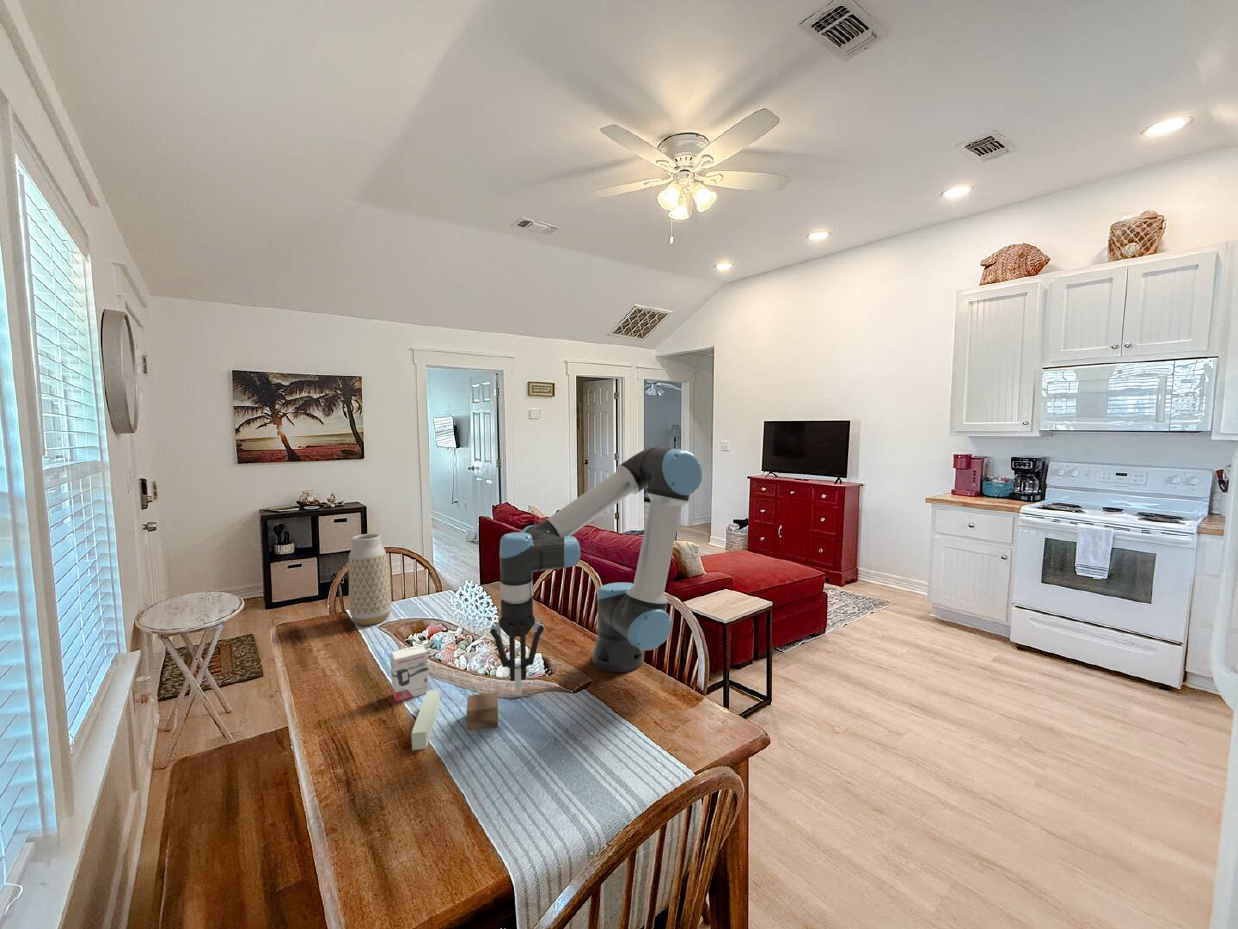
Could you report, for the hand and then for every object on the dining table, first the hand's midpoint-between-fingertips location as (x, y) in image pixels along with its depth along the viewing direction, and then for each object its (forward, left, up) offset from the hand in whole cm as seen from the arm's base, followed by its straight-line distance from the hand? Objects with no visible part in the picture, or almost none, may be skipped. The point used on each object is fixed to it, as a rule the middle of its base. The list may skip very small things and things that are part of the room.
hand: (518, 692), depth 130 cm
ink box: (+29, -16, -7) cm, 33 cm away
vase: (+54, -71, -7) cm, 89 cm away
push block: (+9, 0, -7) cm, 11 cm away
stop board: (+22, 0, -6) cm, 23 cm away
